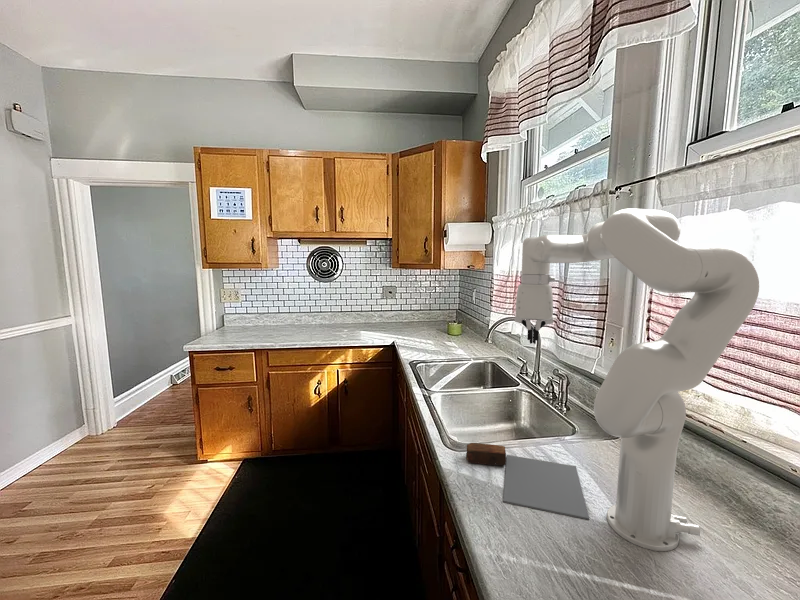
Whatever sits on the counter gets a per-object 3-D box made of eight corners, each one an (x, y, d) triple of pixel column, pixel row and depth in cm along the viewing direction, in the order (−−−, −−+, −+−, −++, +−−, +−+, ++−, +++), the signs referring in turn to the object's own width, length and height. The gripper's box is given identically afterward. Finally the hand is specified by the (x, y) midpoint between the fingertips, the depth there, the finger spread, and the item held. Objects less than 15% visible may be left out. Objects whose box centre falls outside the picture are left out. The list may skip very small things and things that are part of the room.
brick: (505, 467, 97) (504, 458, 102) (506, 453, 97) (504, 445, 102) (466, 463, 100) (466, 454, 104) (466, 449, 99) (466, 441, 104)
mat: (575, 467, 98) (575, 466, 98) (589, 519, 78) (589, 518, 78) (507, 456, 104) (507, 454, 104) (503, 502, 84) (503, 500, 84)
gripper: (561, 280, 105) (558, 341, 107) (508, 279, 110) (506, 338, 112) (564, 281, 98) (561, 347, 100) (507, 280, 103) (505, 343, 105)
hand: (532, 342), depth 106 cm, fingers closed
